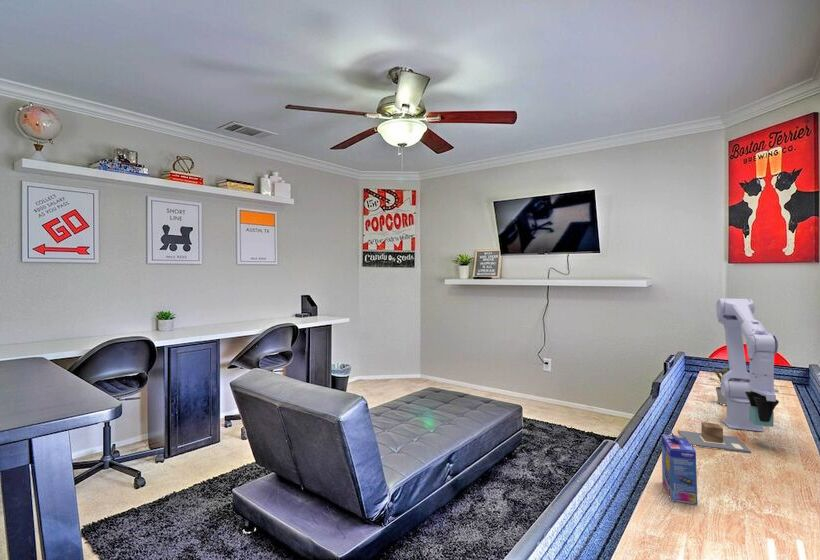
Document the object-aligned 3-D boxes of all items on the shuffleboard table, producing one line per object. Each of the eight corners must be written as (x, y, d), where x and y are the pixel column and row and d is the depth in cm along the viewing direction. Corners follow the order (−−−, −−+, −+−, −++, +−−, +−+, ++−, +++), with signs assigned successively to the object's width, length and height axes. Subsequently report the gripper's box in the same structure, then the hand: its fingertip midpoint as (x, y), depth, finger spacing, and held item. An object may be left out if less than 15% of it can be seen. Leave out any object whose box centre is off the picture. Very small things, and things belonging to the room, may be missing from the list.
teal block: (767, 422, 132) (767, 407, 131) (773, 426, 127) (773, 411, 127) (749, 420, 133) (749, 405, 133) (754, 425, 129) (755, 410, 129)
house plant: (706, 407, 168) (706, 365, 168) (698, 398, 181) (698, 359, 181) (751, 411, 163) (751, 368, 163) (739, 401, 176) (739, 362, 176)
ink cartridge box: (660, 481, 107) (660, 423, 107) (685, 485, 105) (686, 426, 105) (669, 501, 98) (670, 438, 98) (698, 505, 96) (698, 441, 96)
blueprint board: (736, 438, 136) (736, 436, 136) (751, 453, 125) (751, 451, 125) (677, 432, 141) (677, 430, 141) (686, 445, 130) (686, 443, 130)
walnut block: (718, 438, 134) (718, 423, 134) (722, 443, 130) (723, 428, 130) (701, 436, 136) (701, 422, 136) (705, 441, 132) (705, 426, 132)
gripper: (789, 380, 122) (788, 428, 122) (767, 370, 135) (767, 413, 136) (758, 378, 124) (758, 425, 124) (740, 368, 138) (740, 410, 138)
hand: (761, 418), depth 130 cm, fingers closed on teal block, 4 cm apart
